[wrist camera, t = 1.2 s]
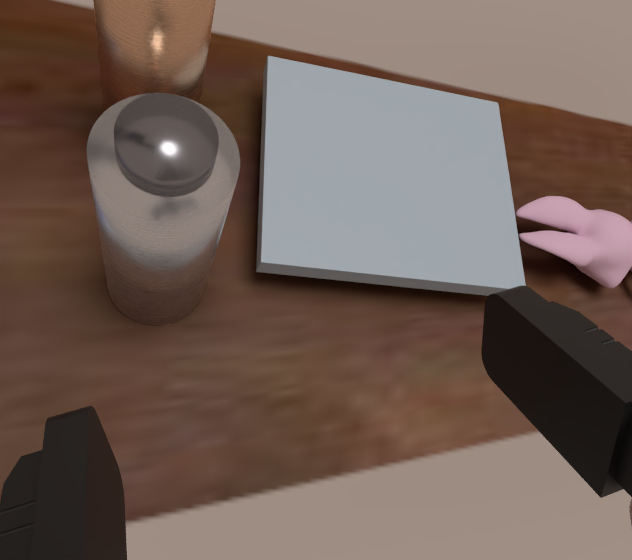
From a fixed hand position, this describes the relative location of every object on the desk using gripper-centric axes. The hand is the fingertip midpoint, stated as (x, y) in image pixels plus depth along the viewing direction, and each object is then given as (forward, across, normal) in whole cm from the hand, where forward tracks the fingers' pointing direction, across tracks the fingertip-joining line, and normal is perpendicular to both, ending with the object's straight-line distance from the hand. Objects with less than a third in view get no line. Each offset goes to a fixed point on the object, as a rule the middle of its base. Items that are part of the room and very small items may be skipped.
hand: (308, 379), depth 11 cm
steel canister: (+17, +3, +6) cm, 18 cm away
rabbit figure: (+16, -23, +12) cm, 31 cm away
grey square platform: (+20, -10, +6) cm, 23 cm away
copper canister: (+23, +2, +1) cm, 23 cm away
